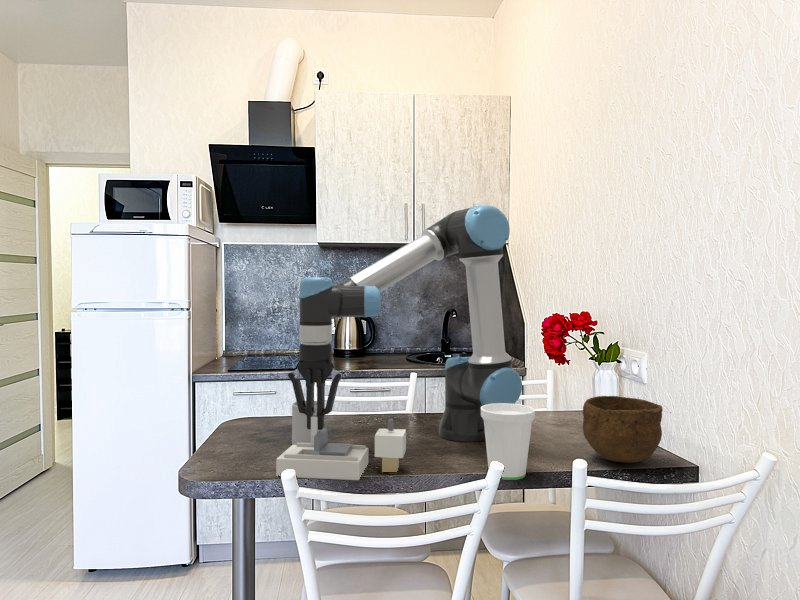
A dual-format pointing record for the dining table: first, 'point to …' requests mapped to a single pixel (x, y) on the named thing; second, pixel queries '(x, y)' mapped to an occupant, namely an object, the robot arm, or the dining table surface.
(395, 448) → the plug
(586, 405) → the bowl
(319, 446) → the grey l-shaped bracket
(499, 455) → the cup
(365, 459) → the cream railed base block
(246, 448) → the dining table surface
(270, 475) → the dining table surface
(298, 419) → the mug
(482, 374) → the robot arm
